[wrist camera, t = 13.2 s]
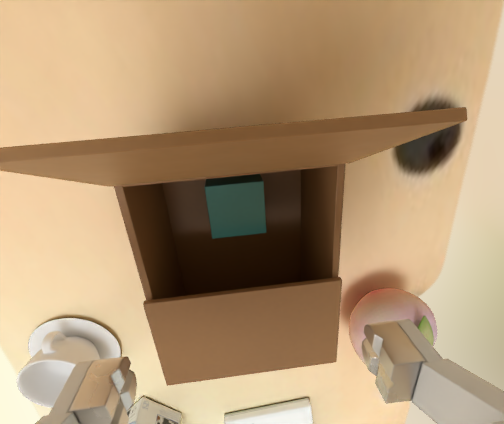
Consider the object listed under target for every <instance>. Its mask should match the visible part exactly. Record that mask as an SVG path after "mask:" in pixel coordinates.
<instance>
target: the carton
mask: <svg viewBox="0 0 504 424" xmlns="http://www.w3.org/2000/svg"><path fill="white" fill-rule="evenodd" d="M252 174H260V175H261V177H262V179H263V181H264V198H265V215H266V233H260V234H251V235H242V236H233V237H224V238H215V239H212V234H211V228H210V221H209V214H208V207H207V201H206V194H205V182H206V179H211V178H221V177H231V176H242V175H252ZM344 176H345V164H335V165H325V166H315V167H304V168H294V169H284V170H273V171H263V172H253V173H243V174H232V175H222V176H212V177H201V178H191V179H181V180H170V181H160V182H150V183H139V184H129V185H119V186H114V188H115V192H116V195H117V199H118V202H119V206H120V209H121V213H122V216H123V220H124V223H125V227H126V230H127V234H128V237H129V241H130V244H131V248H132V251H133V255H134V258H135V262H136V265H137V269H138V272H139V276H140V279H141V283H142V286H143V290H144V293H145V297H146V301H144V304H143V305H144V309H145V312H146V316H147V319H148V322H149V326H150V329H151V333H152V336H153V339H154V343H155V346H156V350H157V353H158V356H159V360H160V363H161V367H162V370H163V373H164V377H165V380H166V384H167V385H174V384H181V383H189V382H196V381H203V380H210V379H217V378H225V377H232V376H239V375H246V374H253V373H261V372H268V371H275V370H282V369H289V368H297V367H304V366H311V365H318V364H326V363H333V362H336V358H337V344H338V330H339V316H340V302H341V287H342V279H341V278H340V277H338V271H339V255H340V239H341V224H342V208H343V192H344Z"/></svg>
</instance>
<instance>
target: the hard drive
mask: <svg viewBox="0 0 504 424" xmlns="http://www.w3.org/2000/svg"><path fill="white" fill-rule="evenodd" d="M224 416H225V417H224V423H225V424H313V419H312V410H311V405H310V401H309V398H305V399H299V400H294V401H289V402H284V403H279V404H274V405H269V406H264V407H259V408H254V409H248V410H244V411H239V412H234V413H229V414H225V415H224Z"/></svg>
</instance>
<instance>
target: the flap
mask: <svg viewBox="0 0 504 424" xmlns="http://www.w3.org/2000/svg"><path fill="white" fill-rule="evenodd" d="M466 120H467V110H466V107H462V108H450V109H439V110H427V111H416V112H405V113H393V114H382V115H370V116H359V117H347V118H336V119H324V120H313V121H301V122H290V123H278V124H267V125H256V126H244V127H233V128H221V129H210V130H198V131H187V132H175V133H164V134H152V135H141V136H129V137H118V138H107V139H95V140H84V141H72V142H61V143H49V144H38V145H26V146H15V147H3V148H0V171H7V172H14V173H21V174H28V175H34V176H41V177H48V178H55V179H62V180H69V181H75V182H82V183H89V184H96V185H103V186H119V185H129V184H139V183H150V182H160V181H170V180H181V179H191V178H201V177H212V176H222V175H232V174H243V173H253V172H263V171H273V170H284V169H294V168H304V167H315V166H325V165H335V164H346V163H351V162H354V161H357V160H360V159H362V158H365V157H368V156H371V155H373V154H376V153H379V152H382V151H384V150H387V149H390V148H393V147H395V146H398V145H401V144H404V143H406V142H409V141H412V140H415V139H417V138H420V137H423V136H426V135H428V134H431V133H434V132H437V131H439V130H442V129H445V128H448V127H450V126H453V125H456V124H458V123H461V122H464V121H466Z"/></svg>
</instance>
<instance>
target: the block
mask: <svg viewBox="0 0 504 424" xmlns="http://www.w3.org/2000/svg"><path fill="white" fill-rule="evenodd" d="M205 194H206V201H207V207H208V214H209V221H210V228H211V234H212V239H215V238H224V237H233V236H242V235H251V234H260V233H266V215H265V198H264V181H263V179H262V177H261V175H260V174H252V175H242V176H231V177H221V178H211V179H206V182H205Z"/></svg>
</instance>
